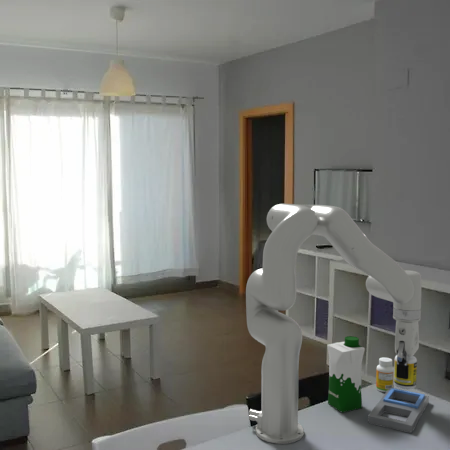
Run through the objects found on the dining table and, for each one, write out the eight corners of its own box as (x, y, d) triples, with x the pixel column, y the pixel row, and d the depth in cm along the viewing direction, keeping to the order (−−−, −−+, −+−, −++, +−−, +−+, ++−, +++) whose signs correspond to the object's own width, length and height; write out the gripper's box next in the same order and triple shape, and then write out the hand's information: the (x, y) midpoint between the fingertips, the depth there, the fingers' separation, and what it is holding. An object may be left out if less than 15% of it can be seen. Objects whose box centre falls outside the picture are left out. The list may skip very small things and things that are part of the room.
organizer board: (367, 422, 152) (367, 413, 151) (388, 394, 170) (389, 386, 170) (411, 433, 146) (411, 423, 146) (428, 402, 165) (428, 394, 164)
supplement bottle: (379, 384, 178) (380, 355, 177) (396, 388, 175) (397, 358, 174) (373, 390, 174) (374, 360, 173) (390, 394, 171) (391, 363, 170)
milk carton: (366, 408, 161) (368, 341, 159) (340, 414, 157) (342, 345, 155) (347, 397, 169) (349, 333, 166) (322, 402, 165) (323, 337, 163)
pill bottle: (417, 390, 159) (418, 353, 157) (395, 389, 160) (395, 351, 159) (414, 382, 165) (415, 346, 163) (393, 380, 166) (393, 344, 165)
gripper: (413, 322, 151) (411, 386, 153) (426, 308, 165) (424, 367, 167) (385, 319, 155) (384, 381, 156) (400, 305, 169) (399, 362, 171)
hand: (405, 373), depth 162 cm, fingers closed on pill bottle, 6 cm apart
